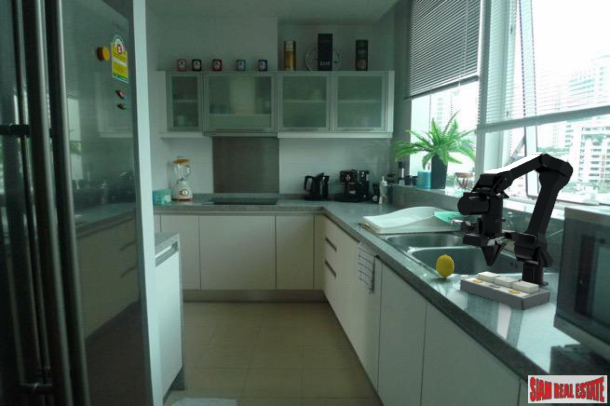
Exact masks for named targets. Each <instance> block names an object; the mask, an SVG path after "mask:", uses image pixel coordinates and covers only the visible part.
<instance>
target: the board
mask: <svg viewBox="0 0 610 406" xmlns="http://www.w3.org/2000/svg"><path fill="white" fill-rule="evenodd" d="M459 285H460V286H459V289H460V290H462V291H464V292H468V293H471V294H473V295H477V296H479V297H483V298H486V299H488V298H489V299H488V300H491V299H492V300H491V301H495V302H497V303H501V304H503V305H507V306H510V307H513V308H515V309H519V310H522V311H525V310H527V309H528V310H529V309H532V308H535V307H537V306H541V305H544V304H548V303H550V297H551V291H550V290H548V289H543V288H540V287H538V291H537V292H534V293H530V294H528V293H525V292H521V291H518V290H515V289H513V287H511V288H508V287H504V286H501V285H497V284H494V282H492V283H490V282H487V281H483V280H480V279H477V275H475V276H470V277H466V278H460V280H459Z"/></svg>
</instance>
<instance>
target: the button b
mask: <svg viewBox="0 0 610 406" xmlns="http://www.w3.org/2000/svg"><path fill="white" fill-rule="evenodd" d="M516 282H519V279H517V278H513V277H509V276H504V275H503V276H500V277H498V278H494V284H497V285H501V286H504V287H508V288H511V287H513V283H516Z"/></svg>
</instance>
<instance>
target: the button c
mask: <svg viewBox="0 0 610 406" xmlns="http://www.w3.org/2000/svg"><path fill="white" fill-rule="evenodd" d="M538 286H539V285H536V284H532V283H528V282H524V281H520V282H516V283H513V289H515V290H518V291H521V292H525V293H528V294H530V293H534V292H537V291H538V288H539V287H540V286H539V287H538Z"/></svg>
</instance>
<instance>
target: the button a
mask: <svg viewBox="0 0 610 406" xmlns="http://www.w3.org/2000/svg"><path fill="white" fill-rule="evenodd" d="M476 276H477V279H480V280H483V281H487V282H490V283H492V282H494V278H498V277H501V274H497V273H494V272H490V271H484V272H478V273H477V275H476Z"/></svg>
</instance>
